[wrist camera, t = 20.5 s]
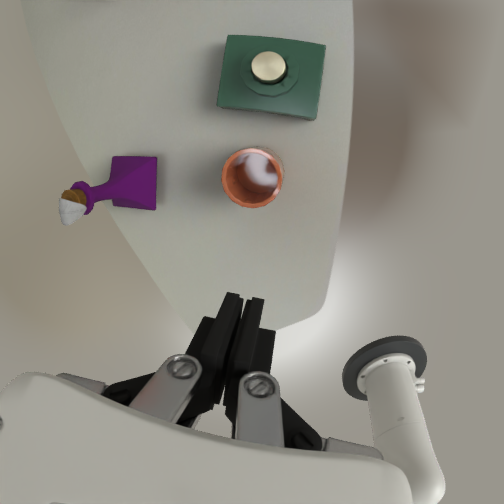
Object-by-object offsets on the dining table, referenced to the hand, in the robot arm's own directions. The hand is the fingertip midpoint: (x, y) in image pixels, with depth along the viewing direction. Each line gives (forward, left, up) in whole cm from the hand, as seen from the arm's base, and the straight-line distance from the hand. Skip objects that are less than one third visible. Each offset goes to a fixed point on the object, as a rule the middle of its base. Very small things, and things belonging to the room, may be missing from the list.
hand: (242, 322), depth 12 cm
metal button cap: (+3, -16, -22) cm, 28 cm away
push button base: (+3, -16, -27) cm, 31 cm away
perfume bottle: (+20, 0, -27) cm, 34 cm away
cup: (+3, -3, -27) cm, 27 cm away
